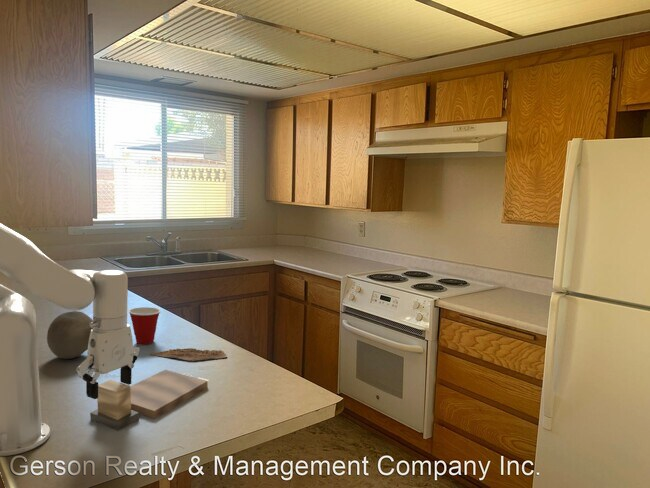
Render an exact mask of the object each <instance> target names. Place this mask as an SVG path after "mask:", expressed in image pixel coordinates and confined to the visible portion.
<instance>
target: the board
mask: <svg viewBox="0 0 650 488" xmlns="http://www.w3.org/2000/svg"><path fill="white" fill-rule="evenodd" d="M184 374H185V373H184ZM184 374H183V373H180V372H176V371H172V370H168V369H164V370H161V371H159V372H158V373H155V374H153V375H151V376H149V377H147V378H145V379H142V380H141V381H139V382H136V383H134V384H131V385H129V386H130V389H131V410H133V411H136V412H139V415H142V416H143V415H144V416H145V417H149V418H152V419H157V418H158V417H160V416H161V415H163V414H165V413H166V412H169V411H170V410H172V409H174V408H175V407H177V406H179V405H181V404H182V403H184V402H186V401H187V400H189V399H190V398H192V397H194V396H196V395H197V394H199V393H201V392H203V391H204V390H206V389H207V388H208V382H207V381H206V380H202V379H198V378H199V377H194V376H192V375H191V376H192V377H191V376H187V375H184Z"/></svg>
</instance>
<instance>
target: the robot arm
mask: <svg viewBox="0 0 650 488" xmlns="http://www.w3.org/2000/svg"><path fill="white" fill-rule="evenodd" d="M0 272H1V273H2V274H3V275H5V276H6V277H8V278H9V279H11V280H12V281H14V282H16V283H18V284H20V285H21V286H22V287H23V288H25V289H27V290H29V291H30V292H32V293H34V294H35V295H37V296H39V297H41V298H43V299H44V300H46V301H48V302H50V303H52V304H54V305H57V306H58V307H60V308H63V309H64V310H68V311H71V312H72V311H81V310H84V309H86V308H88V306H90V305H91V304H92V320H93V322H90V327H91V328H93V329H92V330H91V332H90V337H89V343H88V349H87V354H86V355H87V356H86V358H85V359H84V360H83V361H82V362H81V363H80V364H79V365H78V366H77V367H76V369H75V371H76V373H77V374H78V375H79V378H81V379H82V380H83V381H84V382H85V383H86V387H85V389H86V397H87V398H90V399H93V400H97V398H98V385H99V382H98V380H99V377H100V376H101V375H105V374H108V373H111V372H113V371H116V370H119V369H120V373H119V374H120V378H119V379H120V383H123V384H126V385H129V386H131V385H132V375H133V374H132V369H133V368H134V367H135V363H136V361H137V359H138V355H139V353H140V347H138V346H135V345H134V340H133V334H132V328H131V325H130V324H129V323H128V289H129V288H128V286H129V285H128V282H129V279H128V275H127V273H126V272H124V271H123V270H119V269H103V270H86V269H68V268H66V267H64V266H63V265H60V264H59V263H57V262H56V261H54V260H52V259H51V258H50V257H48V256H47V255H46V254H44V253H43V252H42V251H41V250H40V249H39V248H38V247H37V246H36V244H34V243H33V242H32V241H31V240H30V239H28V238H27V237H25V236H24V235H22V234H21V233H18V232H17V231H15V230H13V229H11V228H9V227H8V226H6V225H5V224H3V223H1V222H0ZM37 336H38V335H37V317H36V310H35V307H34V304H33V303H32V301H30V299H28V298H27V297H25V296H24V295H21V294H20V293H18V292H16V291H14V290H13V289H10V288H8V287H7V286H5V285H3V284H0V457H3V456H4V457H5V456H12V455H13V456H14V455H18V454H23V453H26V452H28V451H31V450H34V449H35V448H37V447H39V446H40V445H42V444H44V443H45V442H46V441H47V440H48V439H49V438H50V437H51V427H50V426H49V425H48V424H47V423H44V422H43V418H42V405H41V390H40V389H41V388H40V375H39V374H40V371H39V358H38V341H37V338H38V337H37ZM87 369H88V370H87Z"/></svg>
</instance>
